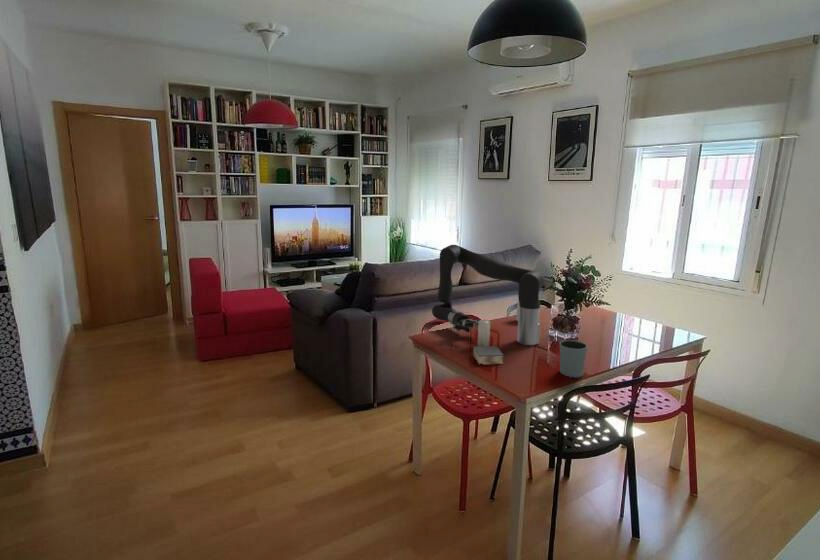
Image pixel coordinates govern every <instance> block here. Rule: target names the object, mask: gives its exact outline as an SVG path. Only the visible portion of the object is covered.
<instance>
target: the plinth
mask: <svg viewBox="0 0 820 560" xmlns="http://www.w3.org/2000/svg"><path fill="white" fill-rule="evenodd" d="M472 352H473V353H472V354H473V355H472V356H473V357H474V359H475V360H477V361H476V362H477V363H478V365H479V366H481V365H480V364H483V365H503V364H504V353H502V351H501V350H500V349H499V347H498V346H497V345H489V346H477V345H476V346H473V351H472Z"/></svg>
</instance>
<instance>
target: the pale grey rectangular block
mask: <svg viewBox="0 0 820 560" xmlns="http://www.w3.org/2000/svg"><path fill="white" fill-rule="evenodd" d="M477 326H478V327H477V345H476V347H477V346H490V337H491V336H490V335H491V320H489V319H479V324H478V325H477Z"/></svg>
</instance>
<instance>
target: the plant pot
mask: <svg viewBox="0 0 820 560" xmlns="http://www.w3.org/2000/svg"><path fill="white" fill-rule="evenodd" d="M558 345H559V366H560V367H559V373H560V374H561V375H562V374H563V375H562V376H564V375H565V377H567V376H569V377H568V378H572V377H574V378H575V379H576V378H581V377H582V376H583V375H584V370H585V369H584V368H585V363H586V357H587V350H588V344H586V343H585V342H582V341H579V340H575V339H574V340H573V339H566V340H561V341H560V342H559V344H558Z"/></svg>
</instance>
